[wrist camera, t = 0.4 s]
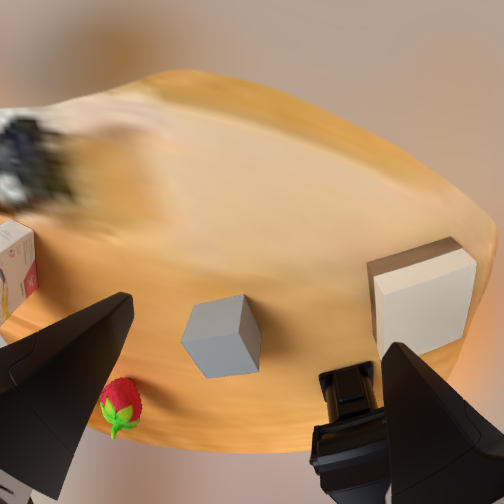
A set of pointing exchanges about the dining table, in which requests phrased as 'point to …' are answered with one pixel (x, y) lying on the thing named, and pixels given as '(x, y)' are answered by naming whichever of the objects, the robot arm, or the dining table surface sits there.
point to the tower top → (424, 302)
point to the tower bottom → (405, 265)
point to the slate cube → (223, 338)
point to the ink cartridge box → (16, 267)
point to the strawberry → (121, 405)
